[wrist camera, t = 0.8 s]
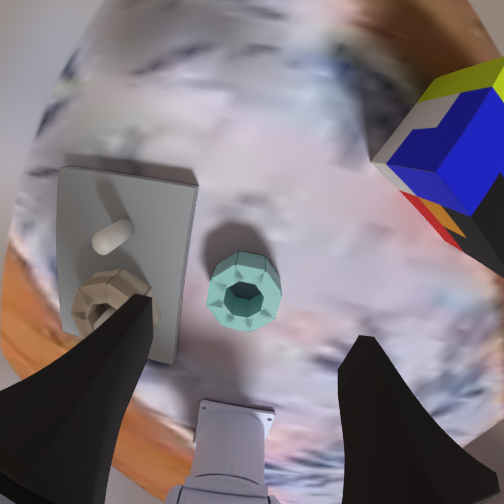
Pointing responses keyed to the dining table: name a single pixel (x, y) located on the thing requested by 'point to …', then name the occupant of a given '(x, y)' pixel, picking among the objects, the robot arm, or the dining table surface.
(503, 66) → the puzzle toy
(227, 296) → the teal octagonal nut
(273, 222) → the dining table surface
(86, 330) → the tan octagonal nut
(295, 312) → the dining table surface
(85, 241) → the board
